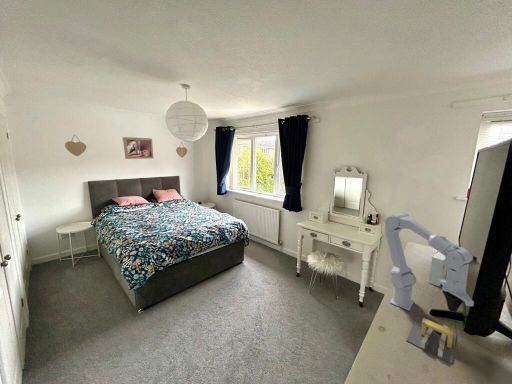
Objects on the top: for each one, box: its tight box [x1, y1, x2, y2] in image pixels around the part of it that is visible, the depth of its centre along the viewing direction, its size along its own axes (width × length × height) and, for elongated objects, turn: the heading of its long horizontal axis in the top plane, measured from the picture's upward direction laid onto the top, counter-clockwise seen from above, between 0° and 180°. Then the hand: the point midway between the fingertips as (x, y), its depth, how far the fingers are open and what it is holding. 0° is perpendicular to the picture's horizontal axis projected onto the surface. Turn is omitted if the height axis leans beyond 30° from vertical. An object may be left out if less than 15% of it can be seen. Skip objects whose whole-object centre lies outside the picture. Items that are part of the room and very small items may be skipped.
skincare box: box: [427, 251, 448, 287], centre depth 121 cm, size 21×6×16 cm, turn 126°
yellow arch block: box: [421, 317, 455, 348], centre depth 81 cm, size 3×9×6 cm, turn 43°
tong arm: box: [420, 328, 434, 352], centre depth 81 cm, size 12×2×2 cm, turn 128°
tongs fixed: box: [434, 324, 449, 359], centre depth 80 cm, size 16×3×2 cm, turn 133°
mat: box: [406, 316, 458, 365], centre depth 83 cm, size 18×13×1 cm
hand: (452, 310), depth 83 cm, fingers closed
